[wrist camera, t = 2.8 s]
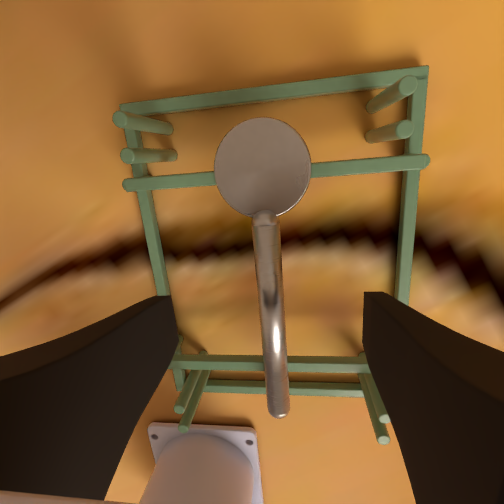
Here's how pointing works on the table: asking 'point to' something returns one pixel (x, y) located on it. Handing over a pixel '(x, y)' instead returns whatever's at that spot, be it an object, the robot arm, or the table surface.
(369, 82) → the rack
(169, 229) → the table surface
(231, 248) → the table surface
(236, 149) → the spoon
